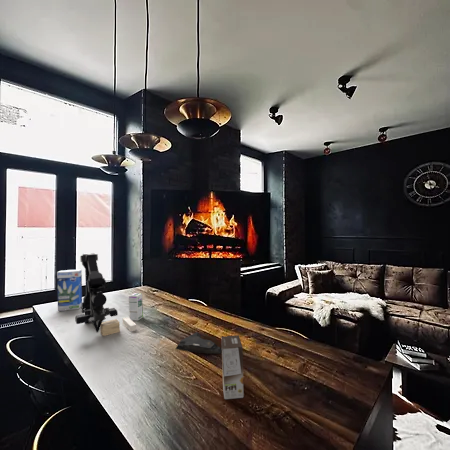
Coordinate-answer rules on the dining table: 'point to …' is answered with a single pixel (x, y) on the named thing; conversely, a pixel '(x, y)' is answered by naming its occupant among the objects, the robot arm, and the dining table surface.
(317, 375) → the dining table surface
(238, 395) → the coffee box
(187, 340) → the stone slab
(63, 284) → the string lights box
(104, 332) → the oak block
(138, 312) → the syrup box
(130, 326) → the plank
